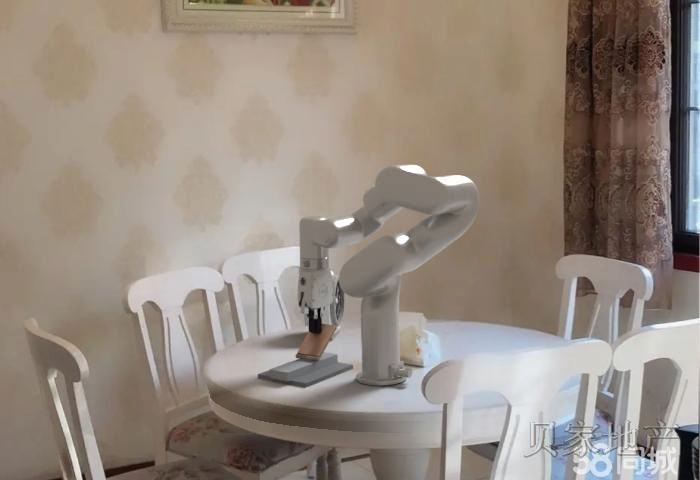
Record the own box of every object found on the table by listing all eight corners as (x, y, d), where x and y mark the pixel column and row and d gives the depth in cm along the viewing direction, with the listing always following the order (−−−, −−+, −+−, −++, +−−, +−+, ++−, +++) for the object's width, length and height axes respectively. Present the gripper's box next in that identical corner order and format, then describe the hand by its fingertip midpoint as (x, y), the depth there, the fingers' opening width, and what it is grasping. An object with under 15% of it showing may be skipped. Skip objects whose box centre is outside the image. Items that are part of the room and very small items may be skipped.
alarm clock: (334, 343, 248) (332, 276, 245) (306, 343, 249) (304, 276, 247) (346, 330, 265) (344, 267, 263) (320, 329, 267) (318, 267, 264)
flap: (315, 359, 215) (317, 362, 215) (334, 325, 221) (336, 328, 221) (294, 356, 219) (296, 358, 219) (314, 322, 225) (316, 325, 225)
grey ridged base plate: (353, 368, 220) (352, 356, 220) (304, 388, 204) (303, 375, 204) (305, 360, 230) (305, 349, 229) (255, 379, 213) (254, 366, 213)
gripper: (308, 269, 210) (309, 340, 213) (342, 261, 223) (343, 328, 225) (285, 266, 215) (286, 336, 217) (320, 258, 227) (320, 324, 229)
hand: (315, 332), depth 221 cm, fingers closed
